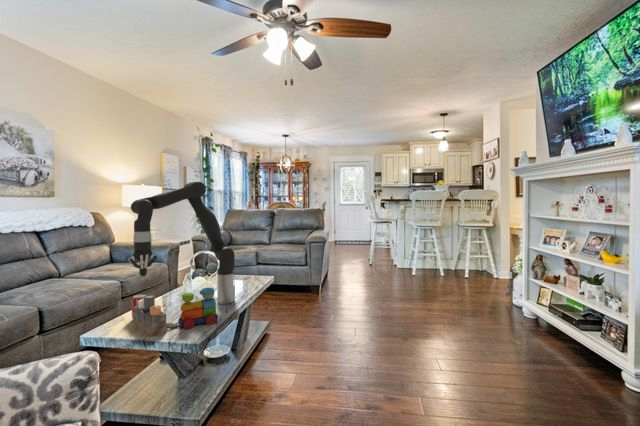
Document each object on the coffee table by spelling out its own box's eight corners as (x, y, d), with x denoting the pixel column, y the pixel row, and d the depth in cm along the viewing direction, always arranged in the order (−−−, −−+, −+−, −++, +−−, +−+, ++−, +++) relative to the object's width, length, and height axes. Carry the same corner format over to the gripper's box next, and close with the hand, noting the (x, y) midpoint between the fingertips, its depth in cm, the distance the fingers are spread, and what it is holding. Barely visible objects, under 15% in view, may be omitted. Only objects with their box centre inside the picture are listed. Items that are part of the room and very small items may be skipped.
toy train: (151, 328, 151) (150, 293, 151) (213, 316, 167) (212, 285, 166) (154, 337, 141) (153, 299, 140) (219, 323, 156) (219, 290, 156)
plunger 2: (158, 318, 148) (158, 304, 148) (163, 321, 145) (162, 306, 145) (148, 321, 145) (148, 306, 145) (152, 323, 142) (152, 308, 142)
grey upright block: (152, 308, 153) (152, 294, 153) (156, 310, 150) (156, 296, 150) (142, 311, 150) (142, 296, 150) (145, 313, 147) (145, 298, 147)
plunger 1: (146, 311, 158) (146, 298, 158) (150, 313, 155) (150, 299, 155) (136, 314, 155) (136, 300, 155) (140, 316, 152) (140, 302, 152)
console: (148, 320, 160) (148, 303, 160) (166, 332, 145) (166, 313, 145) (133, 324, 155) (133, 307, 155) (150, 336, 140) (150, 317, 140)
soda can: (150, 317, 164) (150, 294, 164) (139, 322, 158) (138, 298, 157) (140, 316, 167) (140, 293, 166) (128, 320, 160) (128, 297, 160)
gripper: (153, 239, 162) (154, 272, 162) (124, 241, 152) (125, 277, 152) (159, 240, 157) (160, 274, 157) (130, 242, 147) (130, 279, 147)
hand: (143, 276), depth 155 cm, fingers closed
